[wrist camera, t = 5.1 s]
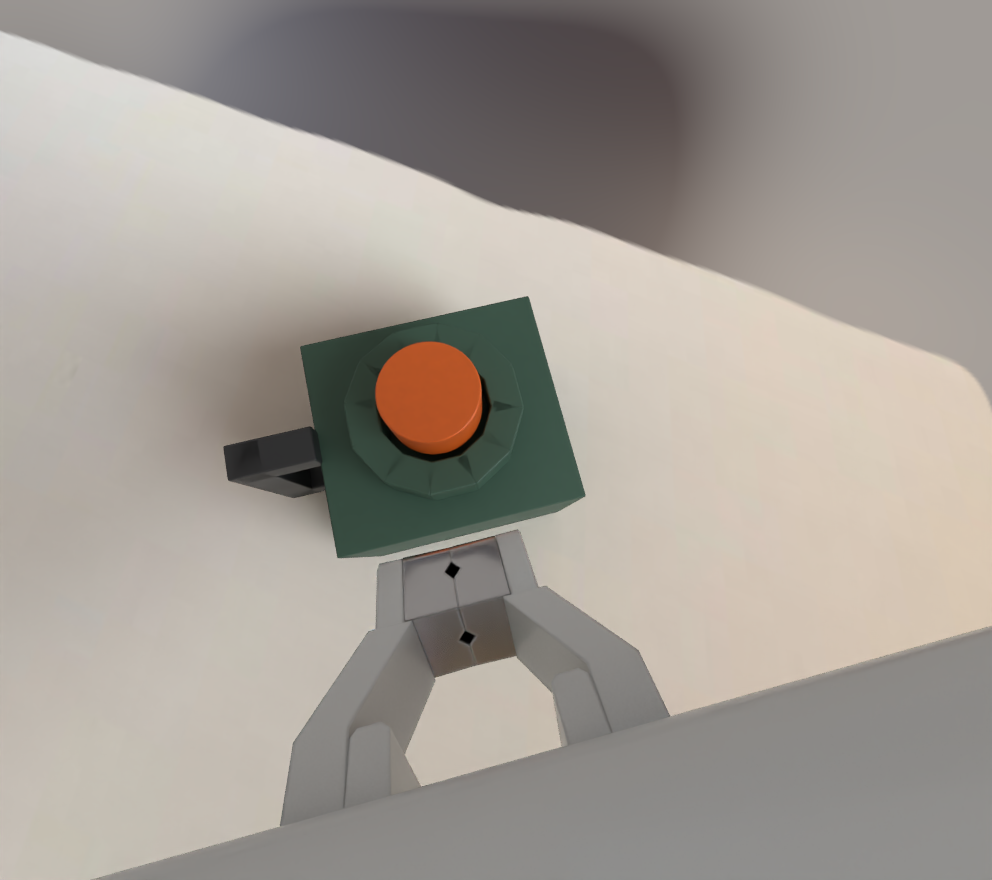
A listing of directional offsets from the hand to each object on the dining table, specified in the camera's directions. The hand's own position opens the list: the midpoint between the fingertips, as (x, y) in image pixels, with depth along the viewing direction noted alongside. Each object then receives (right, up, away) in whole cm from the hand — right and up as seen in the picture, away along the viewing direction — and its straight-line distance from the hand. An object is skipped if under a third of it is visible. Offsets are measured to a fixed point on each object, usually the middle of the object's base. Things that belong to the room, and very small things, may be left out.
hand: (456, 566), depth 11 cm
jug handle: (-8, +1, +15) cm, 17 cm away
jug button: (-1, +4, +8) cm, 9 cm away
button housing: (-2, +2, +18) cm, 18 cm away
